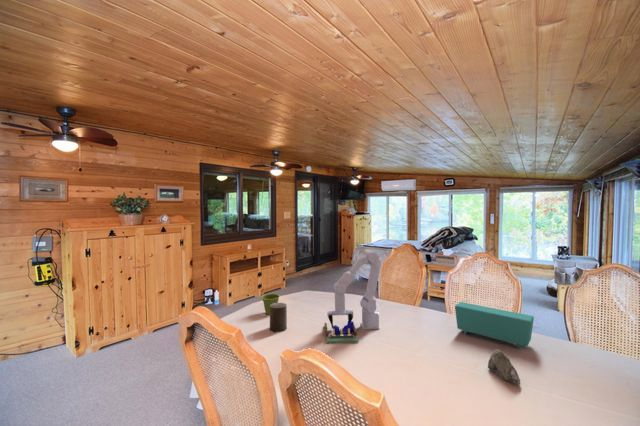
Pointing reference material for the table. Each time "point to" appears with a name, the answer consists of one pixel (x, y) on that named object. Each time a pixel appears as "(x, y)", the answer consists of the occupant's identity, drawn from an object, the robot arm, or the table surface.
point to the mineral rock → (503, 367)
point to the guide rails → (327, 331)
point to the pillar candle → (278, 317)
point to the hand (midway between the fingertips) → (340, 327)
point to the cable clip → (344, 328)
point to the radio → (495, 323)
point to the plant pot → (269, 301)
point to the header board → (342, 338)
